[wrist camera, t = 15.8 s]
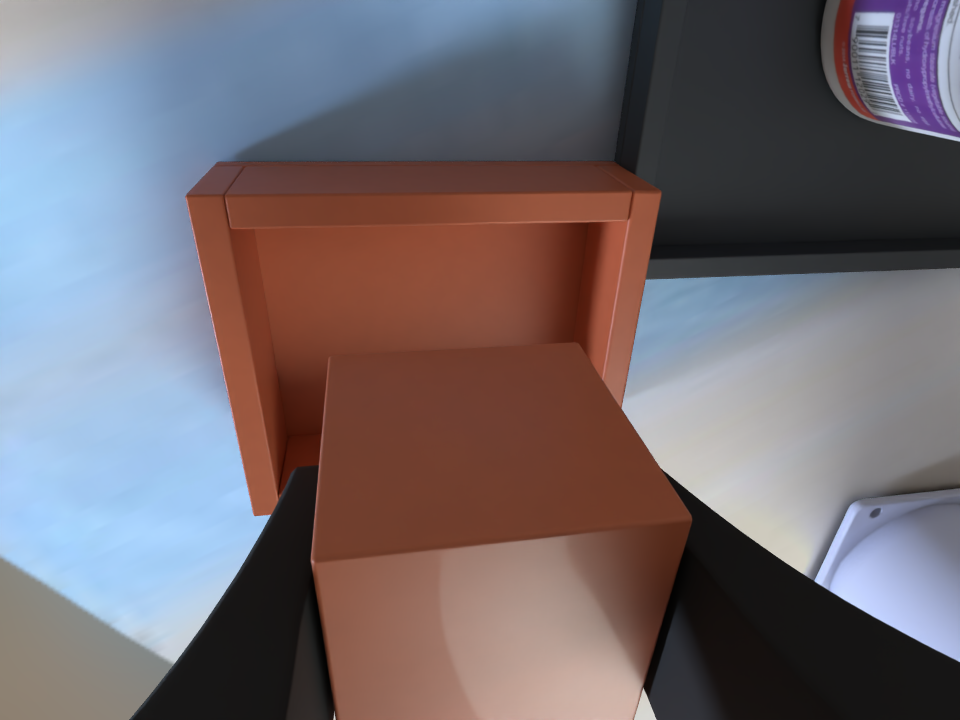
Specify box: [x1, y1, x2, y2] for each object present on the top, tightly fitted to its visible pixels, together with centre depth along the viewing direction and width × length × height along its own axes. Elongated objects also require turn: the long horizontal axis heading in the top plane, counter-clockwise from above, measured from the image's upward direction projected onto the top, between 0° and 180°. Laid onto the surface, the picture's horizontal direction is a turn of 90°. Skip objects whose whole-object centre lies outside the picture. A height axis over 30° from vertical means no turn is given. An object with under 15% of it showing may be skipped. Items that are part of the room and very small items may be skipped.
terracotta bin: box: [185, 161, 661, 516], centre depth 16 cm, size 10×8×3 cm
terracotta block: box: [311, 342, 692, 720], centre depth 10 cm, size 4×4×4 cm
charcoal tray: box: [615, 0, 960, 279], centre depth 14 cm, size 14×13×1 cm
